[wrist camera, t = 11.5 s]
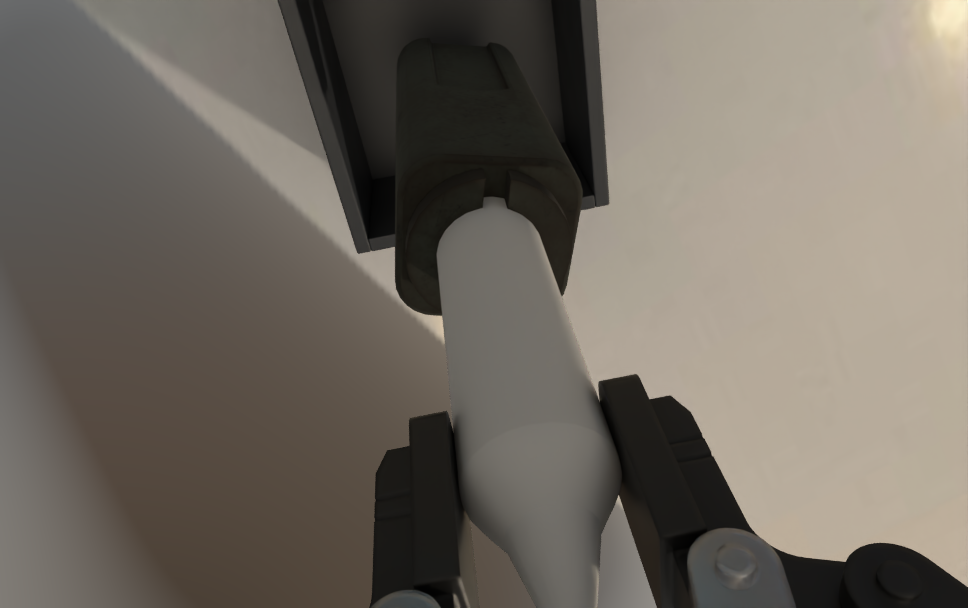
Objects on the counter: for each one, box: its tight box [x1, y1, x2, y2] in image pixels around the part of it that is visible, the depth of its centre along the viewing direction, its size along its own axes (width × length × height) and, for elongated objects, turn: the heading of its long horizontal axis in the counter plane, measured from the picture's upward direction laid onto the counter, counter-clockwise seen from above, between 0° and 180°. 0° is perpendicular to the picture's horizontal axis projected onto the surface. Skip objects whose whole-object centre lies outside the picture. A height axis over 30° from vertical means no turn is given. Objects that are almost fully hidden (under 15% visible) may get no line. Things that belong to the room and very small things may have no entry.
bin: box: [278, 0, 609, 254], centre depth 33 cm, size 12×12×8 cm
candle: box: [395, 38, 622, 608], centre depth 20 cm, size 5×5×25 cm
